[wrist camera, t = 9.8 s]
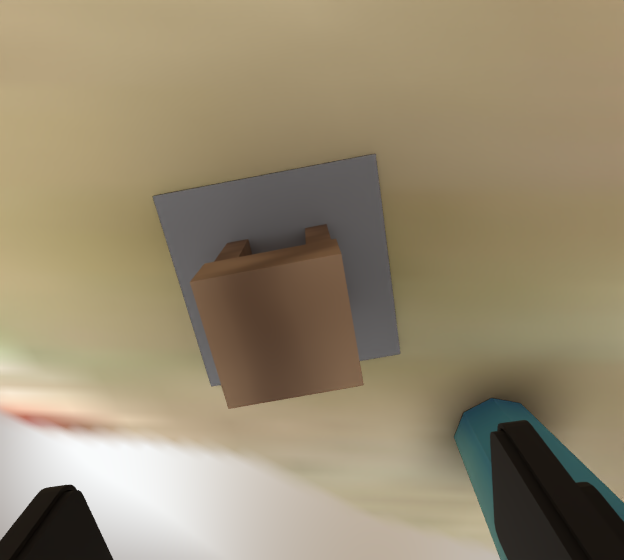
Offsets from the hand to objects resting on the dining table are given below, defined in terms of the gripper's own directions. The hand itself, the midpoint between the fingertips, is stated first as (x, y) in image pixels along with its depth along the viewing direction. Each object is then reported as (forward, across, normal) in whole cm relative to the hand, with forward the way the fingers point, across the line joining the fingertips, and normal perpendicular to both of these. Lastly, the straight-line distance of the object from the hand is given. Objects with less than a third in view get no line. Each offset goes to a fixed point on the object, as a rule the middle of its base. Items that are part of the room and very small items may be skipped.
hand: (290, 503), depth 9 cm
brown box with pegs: (+15, +1, 0) cm, 15 cm away
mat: (+15, +1, 0) cm, 15 cm away
